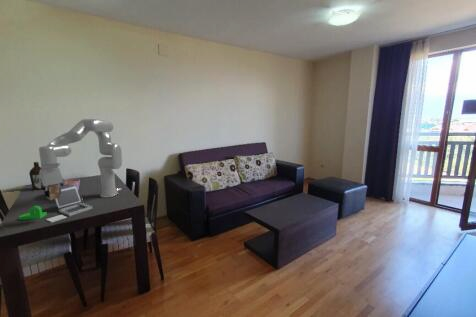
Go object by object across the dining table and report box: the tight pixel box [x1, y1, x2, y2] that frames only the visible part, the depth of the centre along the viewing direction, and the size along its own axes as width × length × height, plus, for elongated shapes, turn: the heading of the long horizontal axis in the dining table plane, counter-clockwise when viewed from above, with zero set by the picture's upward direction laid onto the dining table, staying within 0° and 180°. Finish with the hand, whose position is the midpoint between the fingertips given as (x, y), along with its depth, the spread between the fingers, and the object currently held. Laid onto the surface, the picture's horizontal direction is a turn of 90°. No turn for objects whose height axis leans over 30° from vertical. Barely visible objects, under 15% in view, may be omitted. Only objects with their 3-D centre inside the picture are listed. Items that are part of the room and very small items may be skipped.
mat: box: [45, 214, 68, 224], centre depth 140 cm, size 8×7×1 cm
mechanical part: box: [17, 205, 48, 221], centre depth 142 cm, size 12×6×8 cm, turn 100°
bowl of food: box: [61, 178, 81, 192], centre depth 184 cm, size 20×20×12 cm
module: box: [46, 184, 60, 201], centre depth 137 cm, size 5×5×9 cm
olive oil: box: [29, 161, 44, 191], centre depth 198 cm, size 11×11×25 cm
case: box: [54, 186, 93, 217], centre depth 154 cm, size 15×20×14 cm
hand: (53, 195), depth 138 cm, fingers closed on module, 5 cm apart
